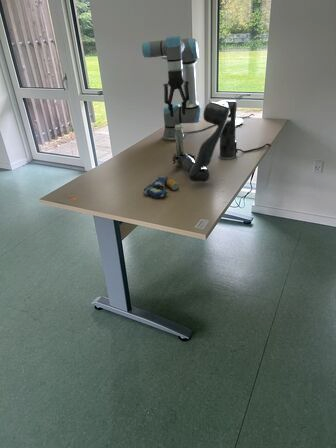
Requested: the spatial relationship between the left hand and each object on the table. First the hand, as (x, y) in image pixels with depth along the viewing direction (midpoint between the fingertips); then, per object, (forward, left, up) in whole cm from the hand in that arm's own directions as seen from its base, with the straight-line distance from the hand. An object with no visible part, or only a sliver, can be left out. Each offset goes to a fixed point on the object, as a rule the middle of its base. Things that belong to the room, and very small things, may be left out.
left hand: (177, 115), depth 185 cm
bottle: (0, 0, -30) cm, 30 cm away
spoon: (-73, -42, -30) cm, 90 cm away
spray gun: (+25, +24, -30) cm, 45 cm away
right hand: (0, -3, -24) cm, 24 cm away
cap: (0, 0, -6) cm, 6 cm away
